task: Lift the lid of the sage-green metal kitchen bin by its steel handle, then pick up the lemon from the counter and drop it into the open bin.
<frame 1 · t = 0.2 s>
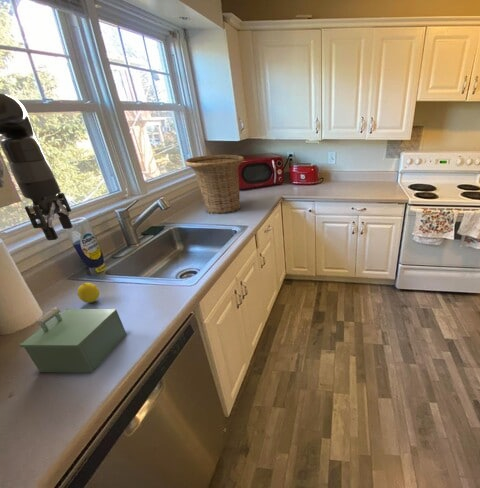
hand: (61, 233, 81), 29 cm above the countertop, tool pointing down, fingers open, 8 cm apart
bin: (86, 352, 78), on the countertop
bin lid: (69, 320, 73), point 11 cm above the countertop, hinge at 0.0°
lemon: (93, 302, 98), on the countertop
wicker basket: (223, 209, 189), on the countertop
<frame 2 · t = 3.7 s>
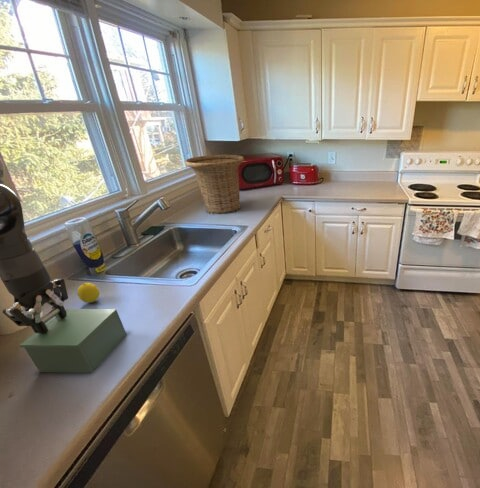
hand: (52, 324, 74), 10 cm above the countertop, tool pointing down, fingers closed on bin lid, 5 cm apart
bin lid: (69, 320, 73), point 11 cm above the countertop, hinge at -0.1°, touching gripper
everything else where it was.
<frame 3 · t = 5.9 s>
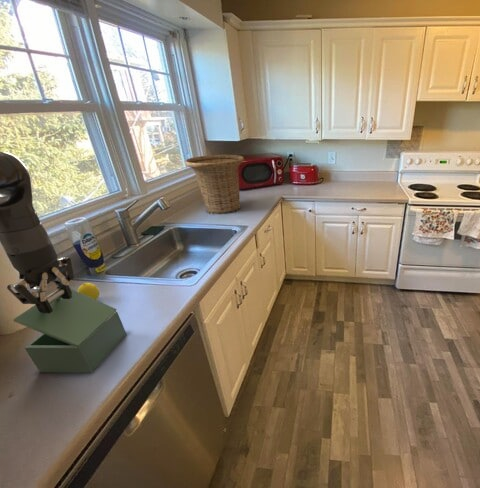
hand: (57, 304, 71), 16 cm above the countertop, tool pointing down, fingers closed on bin lid, 5 cm apart
bin lid: (72, 309, 71), point 15 cm above the countertop, hinge at 34.4°, touching gripper
everything else where it was.
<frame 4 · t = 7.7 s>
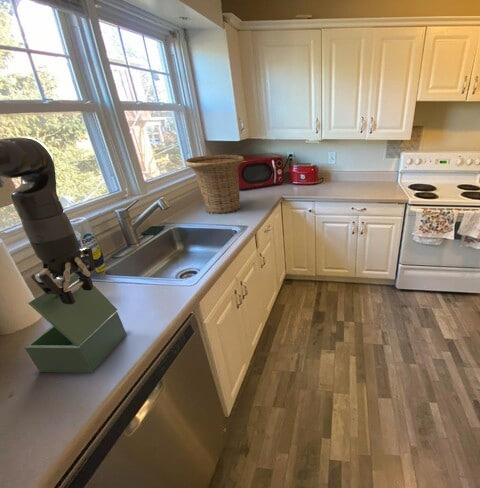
hand: (79, 296, 69), 19 cm above the countertop, tool pointing down, fingers closed on bin lid, 5 cm apart
bin lid: (84, 304, 71), point 17 cm above the countertop, hinge at 66.1°, touching gripper
everything else where it was.
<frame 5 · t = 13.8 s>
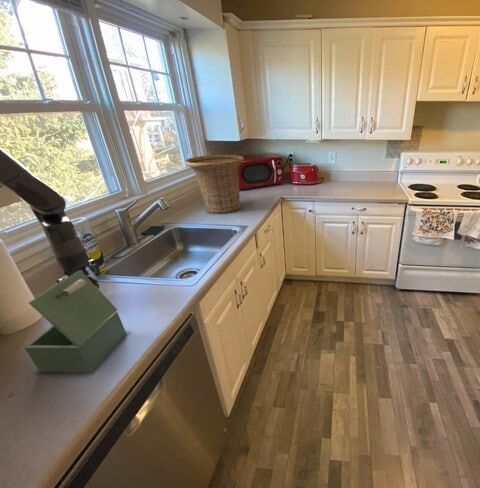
hand: (89, 294, 97), 4 cm above the countertop, tool pointing down, fingers closed on lemon, 5 cm apart
bin lid: (84, 304, 70), point 17 cm above the countertop, hinge at 66.9°
lemon: (93, 302, 98), on the countertop, touching gripper
everything else where it was.
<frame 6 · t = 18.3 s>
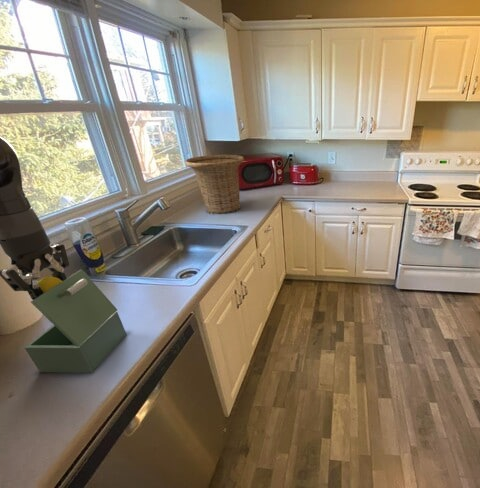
hand: (52, 292, 69), 20 cm above the countertop, tool pointing down, fingers closed on lemon, 5 cm apart
bin lid: (85, 304, 70), point 17 cm above the countertop, hinge at 69.3°
lemon: (58, 304, 71), point 16 cm above the countertop, touching gripper
everything else where it was.
when the fingers open (11 cm above the countertop, at t = 21.1 s): lemon drops 6 cm, resting on bin.
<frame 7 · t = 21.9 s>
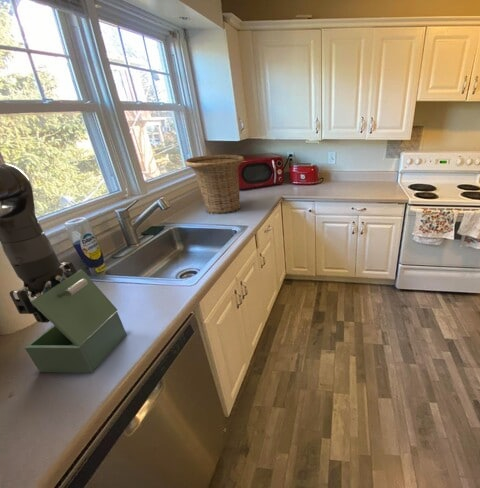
hand: (61, 310, 71), 15 cm above the countertop, tool pointing down, fingers open, 8 cm apart
lemon: (82, 347, 78), point 1 cm above the countertop, touching bin
everything else where it was.
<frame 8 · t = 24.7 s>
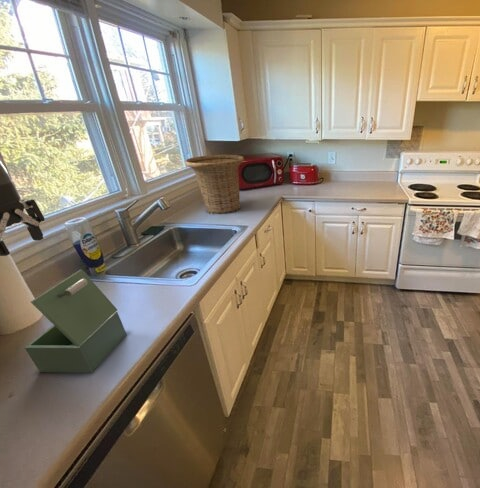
hand: (22, 247, 70), 30 cm above the countertop, tool pointing down, fingers open, 8 cm apart
nothing on the countertop moved.
at the end: bin lid at +69° (first picture: +0°); lemon inside the target area in the bin (1.2 cm from its centre), point 1.4 cm above the bin's base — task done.
